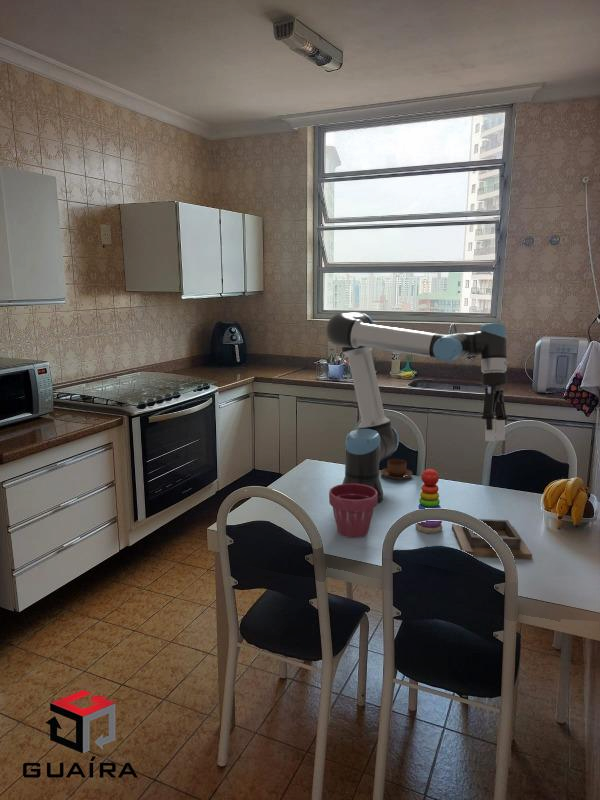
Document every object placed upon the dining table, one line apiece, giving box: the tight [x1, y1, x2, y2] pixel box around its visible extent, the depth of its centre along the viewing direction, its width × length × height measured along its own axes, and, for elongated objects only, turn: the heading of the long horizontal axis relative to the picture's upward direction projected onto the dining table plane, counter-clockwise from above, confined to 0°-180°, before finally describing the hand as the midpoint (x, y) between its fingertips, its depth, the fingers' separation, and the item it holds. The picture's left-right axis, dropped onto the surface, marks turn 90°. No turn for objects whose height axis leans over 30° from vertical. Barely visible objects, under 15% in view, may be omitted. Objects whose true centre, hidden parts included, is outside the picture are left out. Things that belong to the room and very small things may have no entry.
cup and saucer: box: [380, 458, 413, 480], centre depth 215 cm, size 12×12×6 cm
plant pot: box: [328, 483, 378, 539], centre depth 164 cm, size 14×14×13 cm
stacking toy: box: [415, 468, 443, 535], centre depth 165 cm, size 8×8×19 cm
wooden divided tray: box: [451, 518, 533, 560], centre depth 157 cm, size 18×18×4 cm
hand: (495, 440), depth 172 cm, fingers open, 13 cm apart
